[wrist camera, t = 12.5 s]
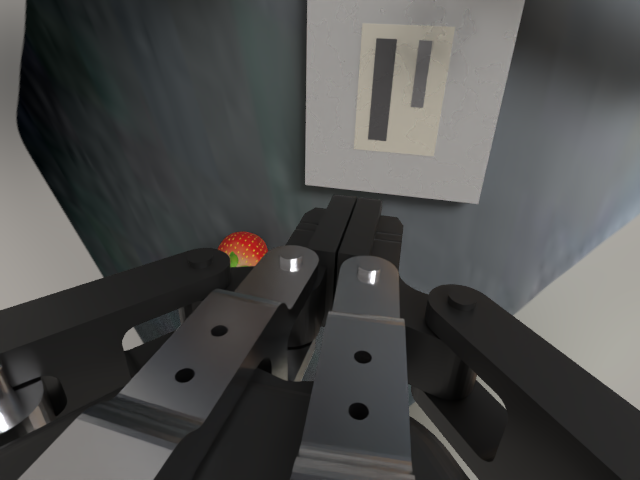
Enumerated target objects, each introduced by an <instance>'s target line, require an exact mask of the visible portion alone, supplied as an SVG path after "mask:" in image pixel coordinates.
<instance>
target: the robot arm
mask: <svg viewBox="0 0 640 480" xmlns="http://www.w3.org/2000/svg"><path fill="white" fill-rule="evenodd" d="M381 210H382V200H378V199H369V198H360V197H359V198H358V200H357V197H351V196H342V195H333V197H332V199H331V201H330V203H329V205H328V207H327V209H323V208H314V209H312V210H310V211H309V212H307V213H305V214H304V216H303V217H302V219H301V221H300V223H299V224H298V226H297V227H296V230H295V231H294V232H293V234H292V236H291V237H290V239H289V240H288V242H287V244H286V245H285V246H280V247H276V248H274V249H271V250H270V251H268V252H267V253H266V254H265V255H264V256H263V257H262V258H261V260H260V261H259V262H258V263H257V264H256V266H247V267H231V266H230V258H229V256H228V255H227V254H226V253H225V252H223V251H221V250H217V249H212V248H200V249H194V250H190V251H187V252H183V253H180V254H177V255H174V256H171V257H168V258H164V259H161V260H158V261H155V262H152V263H149V264H146V265H142V266H139V267H136V268H133V269H130V270H127V271H123V272H120V273H117V274H114V275H111V276H108V277H105V278H102V279H99V280H95V281H92V282H89V283H86V284H82V285H79V286H76V287H73V288H70V289H67V290H63V291H60V292H57V293H54V294H51V295H48V296H45V297H41V298H38V299H35V300H32V301H29V302H26V303H23V304H19V305H16V306H13V307H10V308H7V309H4V310H0V480H470V479H469V478H468V477H467V475H466V474H465V473H464V471H463V470H462V469H461V467H460V466H459V464H458V463H457V462H456V460H455V459H454V458H453V456H452V455H451V454H450V452H449V451H448V450H447V449H446V447H445V446H444V445H443V444H442V443H441V442H440V441H439V440H438V439H437V437H436V436H435V435H434V434H432V433H431V432H430V431H429V430H428V429H426V428H425V427H424V426H423V425H422V424H420V423H419V422H417V421H416V420H415V419H413V418H412V417H410V416H409V400H408V384H410V385H411V392H412V396H413V398H414V399H415V401H416V402H417V404H418V405H419V406H420V407H421V408H422V410H423V411H424V412H425V414H426V415H427V416H428V417H429V419H430V420H431V421H432V422H433V423H434V425H435V426H436V427H437V428H438V429H439V431H440V432H441V433H442V435H443V436H444V437H445V438H446V440H447V441H448V442H449V443H450V445H451V446H452V447H453V448H454V449H455V451H456V452H457V453H458V454H459V456H460V457H461V458H462V459H463V461H464V462H465V463H466V464H467V466H468V467H469V468H470V469H471V470H472V472H473V473H474V474H475V475H476V476H477V478H478V479H479V480H640V411H639V410H638V409H637V408H635V407H634V406H633V405H631V404H630V403H629V402H627V401H626V400H625V399H623V398H622V397H620V396H619V395H618V394H617V393H615V392H614V391H613V390H611V389H610V388H609V387H607V386H606V385H604V384H603V383H602V382H601V381H599V380H598V379H597V378H595V377H594V376H592V375H591V374H590V373H588V372H587V371H586V370H584V369H583V368H582V367H580V366H579V365H578V364H576V363H575V362H574V361H572V360H571V359H570V358H568V357H567V356H566V355H564V354H563V353H562V352H560V351H559V350H558V349H556V348H555V347H554V346H552V345H551V344H550V343H548V342H547V341H546V340H544V339H543V338H542V337H540V336H539V335H538V334H536V333H535V332H533V331H532V330H531V329H530V328H528V327H527V326H526V325H524V324H523V323H522V322H520V321H519V320H518V319H516V318H515V317H514V316H512V315H511V314H510V313H508V312H507V311H506V310H504V309H503V308H502V307H500V306H499V305H498V304H496V303H495V302H494V301H492V300H491V299H490V298H488V297H487V296H486V295H484V294H483V293H481V292H479V291H477V290H475V289H472V288H470V287H466V286H462V285H453V284H449V285H441V286H438V287H436V288H434V289H433V290H432V291H431V292H430V293H429V295H428V294H425V293H422V292H419V291H417V290H415V289H413V288H411V287H410V286H408V285H407V284H406V283H404V282H403V280H402V279H401V278H400V276H399V271H398V270H399V261H400V252H401V243H402V234H403V225H402V223H401V222H400V220H399V219H398V218H397V217H390V216H382V215H381ZM176 309H179V315H180V321H181V326H180V327H179V328H178V329H177V330H175V331H173V332H171V333H168V334H166V335H163V336H161V337H159V338H156V339H154V340H152V341H149V342H147V343H145V344H142V345H140V346H137V347H135V348H133V349H130V350H127V351H124V350H123V346H122V339H123V337H124V335H125V333H126V332H127V331H128V330H129V329H131V328H132V327H134V326H136V325H138V324H141V323H143V322H146V321H148V320H151V319H153V318H156V317H159V316H161V315H164V314H166V313H169V312H171V311H174V310H176ZM321 326H323V327H325V330H324V335H323V340H322V344H321V349H320V354H319V359H318V364H317V369H316V373H315V378H314V381H301V380H302V378H303V375H304V373H305V371H306V369H307V366H308V364H309V362H310V360H311V357H312V355H313V353H314V351H315V348H316V336H317V335H318V333H319V330H320V327H321ZM477 375H478V376H479V377H480V378H481V379H482V380H483V381H484V382H485V383H486V384H487V385H488V386H489V387H491V388H492V389H493V391H494V392H495V393H497V395H498V396H499V397H500V398H501V399H502V401H503V403H504V405H505V407H506V409H505V408H504V407H503V406H502V405H501V404H500V403H499V402H498V401H497V400H496V399H495V398H494V397H493V396H492V395H491V394H490V393H489V392H488V391H487V390H486V389H485V388H484V387H483V386H482V385H481V384H480V383H479V382H478V381H477V380H476V377H477Z"/></svg>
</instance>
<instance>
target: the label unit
mask: <svg viewBox="0 0 640 480" xmlns="http://www.w3.org/2000/svg"><path fill="white" fill-rule="evenodd" d="M524 3H525V0H307V68H306V150H305V185H312V186H321V187H330V188H339V189H348V190H357V191H366V192H375V193H384V194H393V195H402V196H411V197H420V198H429V199H438V200H447V201H456V202H465V203H474V204H478V202H479V198H480V193H481V189H482V185H483V180H484V176H485V172H486V167H487V163H488V159H489V154H490V150H491V146H492V141H493V137H494V133H495V128H496V124H497V120H498V115H499V111H500V107H501V102H502V98H503V94H504V89H505V85H506V81H507V76H508V72H509V68H510V63H511V59H512V55H513V50H514V46H515V42H516V37H517V33H518V29H519V25H520V20H521V16H522V12H523V7H524Z"/></svg>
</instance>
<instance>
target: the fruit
mask: <svg viewBox="0 0 640 480" xmlns="http://www.w3.org/2000/svg"><path fill="white" fill-rule="evenodd" d="M218 250H221V251H223V252H225V253H226V254H227V255H228V256H229V258H230V266H231V267H247V266H256V264H257V263H258V262H259V261H260V260H261V258H262V257H263V256H264V255H265V254H266V253H267V252H268V249H267V246H266V244H265V242H264V241H263V240H262V239H261V238H260V237H259V236H258V235H256V234H253V233H249V232H236V233H232V234H230V235H228V236H227V237H226V238H225V239H224V240H223V241H222V242H221V244H220V245H219V247H218Z"/></svg>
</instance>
